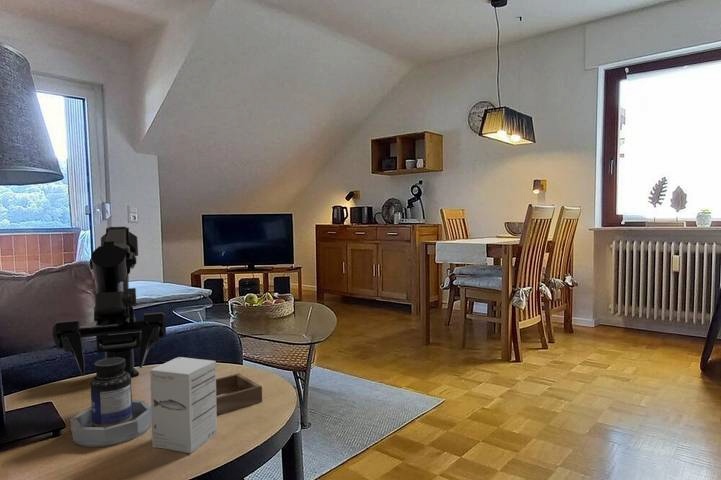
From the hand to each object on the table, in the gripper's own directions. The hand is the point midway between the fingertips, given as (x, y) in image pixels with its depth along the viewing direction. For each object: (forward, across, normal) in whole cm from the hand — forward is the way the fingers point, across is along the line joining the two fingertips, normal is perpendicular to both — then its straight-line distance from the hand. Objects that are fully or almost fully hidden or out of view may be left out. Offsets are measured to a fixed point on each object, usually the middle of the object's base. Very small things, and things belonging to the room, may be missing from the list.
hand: (112, 370), depth 86 cm
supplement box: (+17, +11, -5) cm, 21 cm away
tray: (+10, 0, +2) cm, 10 cm away
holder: (+7, +20, +5) cm, 21 cm away
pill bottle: (+10, 0, +2) cm, 10 cm away
